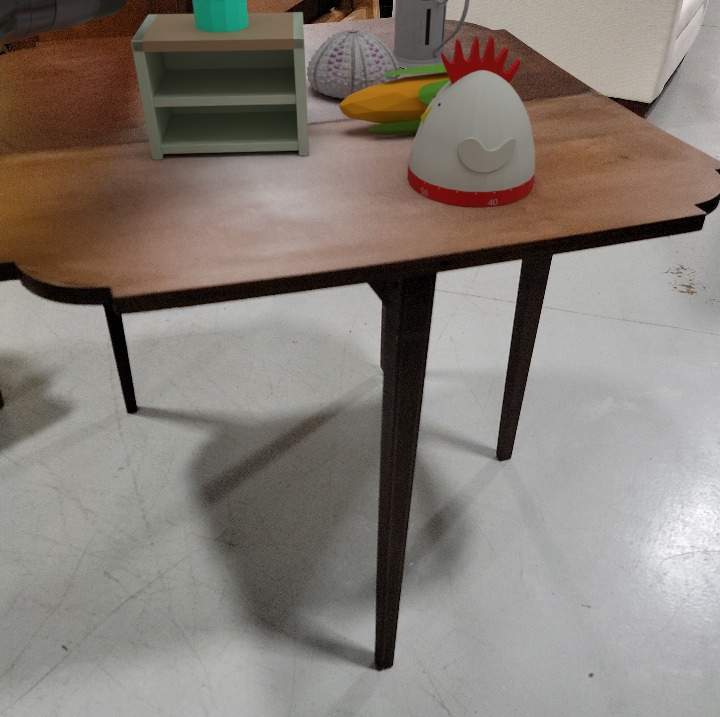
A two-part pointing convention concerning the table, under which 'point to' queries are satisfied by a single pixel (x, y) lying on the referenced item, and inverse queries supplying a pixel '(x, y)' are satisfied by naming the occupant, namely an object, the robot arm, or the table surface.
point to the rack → (223, 85)
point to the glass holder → (421, 31)
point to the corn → (396, 100)
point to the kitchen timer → (474, 135)
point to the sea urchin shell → (350, 64)
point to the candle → (220, 15)
